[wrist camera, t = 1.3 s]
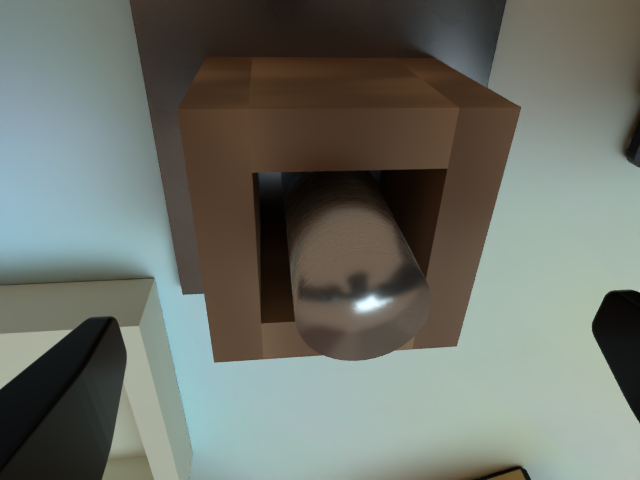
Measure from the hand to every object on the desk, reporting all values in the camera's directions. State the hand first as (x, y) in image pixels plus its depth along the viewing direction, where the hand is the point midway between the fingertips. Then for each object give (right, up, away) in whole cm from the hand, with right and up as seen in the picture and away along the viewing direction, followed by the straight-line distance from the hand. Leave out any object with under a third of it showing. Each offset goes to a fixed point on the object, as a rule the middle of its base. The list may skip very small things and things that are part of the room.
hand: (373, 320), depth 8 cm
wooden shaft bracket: (-1, +4, +6) cm, 7 cm away
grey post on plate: (-1, +4, +6) cm, 8 cm away
